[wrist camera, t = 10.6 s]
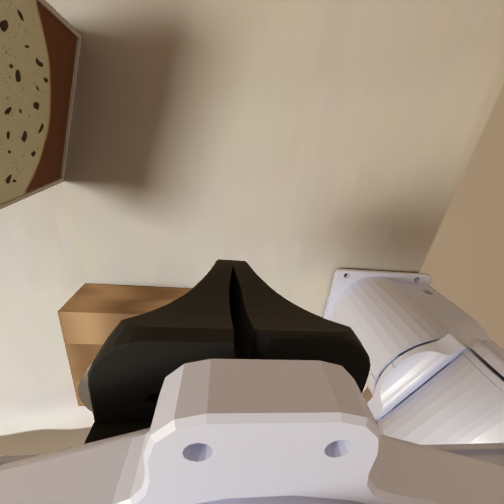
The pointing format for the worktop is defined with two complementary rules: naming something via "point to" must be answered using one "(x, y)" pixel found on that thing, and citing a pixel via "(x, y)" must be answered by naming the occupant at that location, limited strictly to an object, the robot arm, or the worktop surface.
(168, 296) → the block
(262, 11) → the worktop surface
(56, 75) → the food container
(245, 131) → the worktop surface
